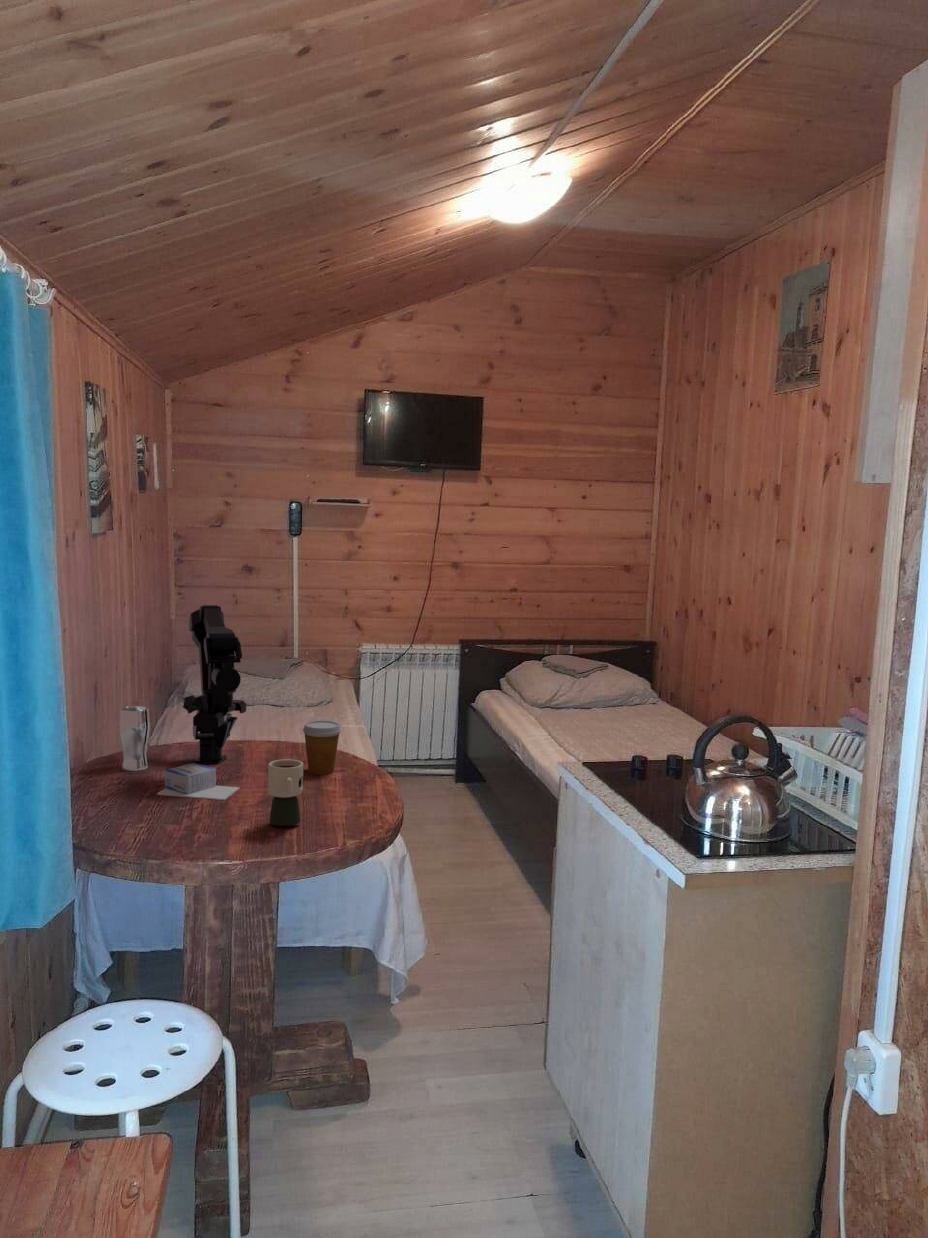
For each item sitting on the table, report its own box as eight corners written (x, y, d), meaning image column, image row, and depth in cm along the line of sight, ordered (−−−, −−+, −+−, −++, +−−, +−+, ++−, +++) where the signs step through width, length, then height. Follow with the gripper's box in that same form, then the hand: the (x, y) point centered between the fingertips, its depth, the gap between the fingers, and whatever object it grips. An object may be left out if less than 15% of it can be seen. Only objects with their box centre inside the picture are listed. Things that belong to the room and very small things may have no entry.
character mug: (306, 831, 186) (307, 769, 184) (271, 834, 183) (272, 771, 182) (297, 814, 196) (298, 755, 195) (264, 817, 194) (264, 757, 192)
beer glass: (143, 772, 223) (143, 712, 221) (115, 771, 223) (115, 710, 221) (153, 764, 230) (153, 706, 228) (126, 763, 230) (126, 705, 228)
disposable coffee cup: (341, 766, 235) (342, 720, 233) (338, 777, 225) (339, 729, 224) (304, 765, 234) (305, 719, 233) (299, 776, 225) (300, 728, 223)
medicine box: (216, 768, 212) (186, 775, 205) (216, 786, 213) (186, 795, 206) (194, 762, 217) (164, 769, 209) (193, 780, 217) (163, 788, 210)
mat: (174, 783, 215) (174, 782, 215) (239, 788, 213) (239, 787, 213) (156, 794, 206) (156, 793, 206) (224, 800, 204) (224, 799, 204)
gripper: (204, 675, 229) (204, 736, 231) (171, 689, 211) (171, 755, 213) (247, 678, 228) (246, 739, 229) (217, 692, 209) (217, 758, 211)
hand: (220, 747), depth 221 cm, fingers closed
